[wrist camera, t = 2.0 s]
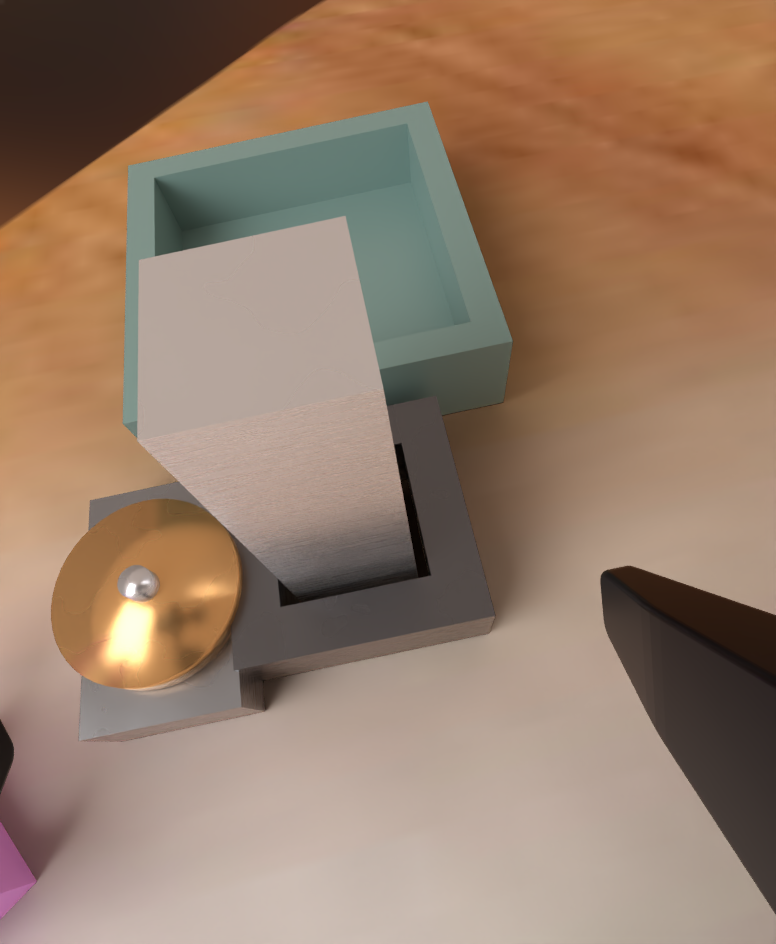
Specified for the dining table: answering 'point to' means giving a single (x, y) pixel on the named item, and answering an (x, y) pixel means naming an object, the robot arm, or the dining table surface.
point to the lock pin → (276, 404)
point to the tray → (372, 236)
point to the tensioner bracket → (247, 600)
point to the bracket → (12, 874)
